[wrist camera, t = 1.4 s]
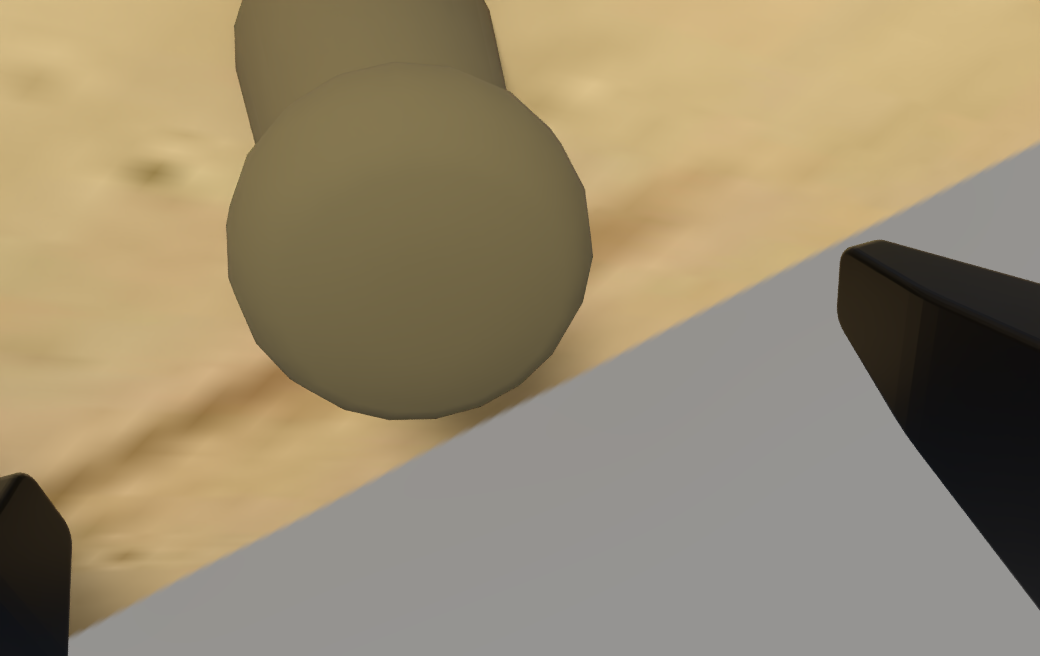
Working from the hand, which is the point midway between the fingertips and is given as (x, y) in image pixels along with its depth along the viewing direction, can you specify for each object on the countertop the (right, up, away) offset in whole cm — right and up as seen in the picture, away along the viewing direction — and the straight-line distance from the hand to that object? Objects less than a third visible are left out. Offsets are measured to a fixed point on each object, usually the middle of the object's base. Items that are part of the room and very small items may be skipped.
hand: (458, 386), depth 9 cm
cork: (-3, +7, +11) cm, 13 cm away
